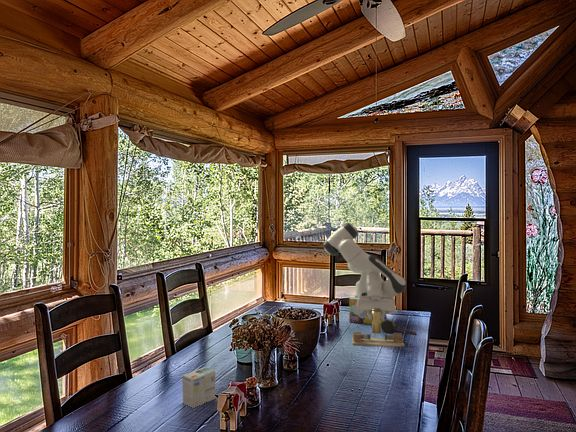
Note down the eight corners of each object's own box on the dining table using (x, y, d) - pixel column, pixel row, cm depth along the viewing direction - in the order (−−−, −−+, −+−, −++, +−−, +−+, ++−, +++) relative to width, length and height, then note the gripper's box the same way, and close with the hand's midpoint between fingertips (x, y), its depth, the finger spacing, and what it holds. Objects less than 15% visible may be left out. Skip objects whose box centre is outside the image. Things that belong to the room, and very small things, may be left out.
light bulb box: (204, 394, 165) (204, 366, 165) (216, 398, 161) (216, 370, 161) (181, 404, 157) (181, 374, 157) (193, 409, 153) (193, 379, 152)
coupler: (371, 331, 227) (371, 307, 227) (380, 331, 227) (380, 308, 227) (372, 333, 223) (372, 309, 223) (381, 333, 222) (381, 310, 222)
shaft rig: (352, 338, 232) (352, 330, 232) (401, 340, 229) (401, 331, 229) (352, 344, 222) (352, 336, 222) (404, 346, 219) (404, 337, 219)
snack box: (349, 322, 265) (349, 298, 265) (350, 320, 271) (350, 296, 270) (384, 325, 259) (384, 300, 259) (385, 322, 264) (385, 298, 264)
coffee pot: (379, 331, 245) (386, 330, 252) (409, 341, 234) (415, 340, 240) (382, 318, 245) (389, 317, 252) (411, 328, 234) (418, 327, 240)
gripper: (394, 301, 235) (396, 323, 225) (356, 300, 237) (356, 322, 228) (395, 294, 230) (397, 316, 221) (356, 293, 233) (357, 315, 223)
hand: (376, 319), depth 224 cm, fingers closed on coupler, 4 cm apart
